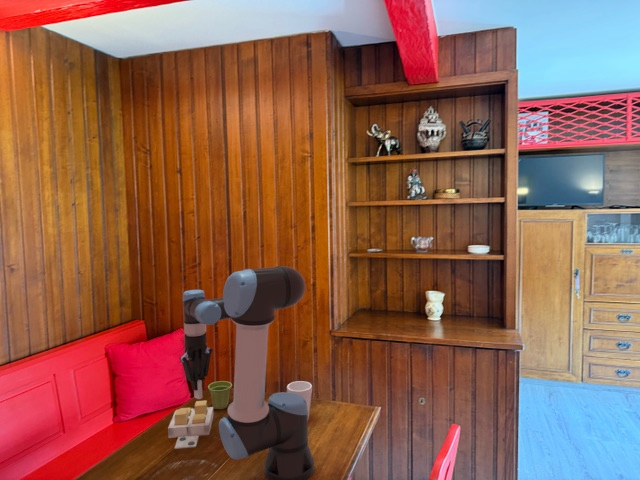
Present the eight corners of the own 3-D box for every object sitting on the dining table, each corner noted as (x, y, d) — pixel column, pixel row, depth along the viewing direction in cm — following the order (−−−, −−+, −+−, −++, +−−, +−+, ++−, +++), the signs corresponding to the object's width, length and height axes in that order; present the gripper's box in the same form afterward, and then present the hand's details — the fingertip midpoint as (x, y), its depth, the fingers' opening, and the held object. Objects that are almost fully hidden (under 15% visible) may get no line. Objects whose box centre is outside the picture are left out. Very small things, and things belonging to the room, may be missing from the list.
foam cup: (309, 426, 159) (309, 392, 158) (285, 424, 161) (284, 390, 160) (314, 414, 169) (313, 381, 168) (291, 412, 170) (290, 380, 169)
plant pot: (225, 398, 183) (225, 379, 182) (236, 406, 176) (236, 386, 175) (204, 405, 177) (204, 385, 176) (215, 414, 170) (214, 392, 169)
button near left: (186, 424, 155) (186, 414, 155) (175, 425, 155) (174, 414, 154) (188, 419, 159) (188, 408, 159) (177, 420, 158) (176, 409, 158)
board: (209, 434, 154) (208, 425, 154) (168, 438, 153) (167, 428, 152) (213, 415, 168) (213, 406, 168) (176, 418, 166) (175, 409, 166)
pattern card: (195, 447, 147) (195, 445, 146) (174, 449, 146) (174, 447, 146) (198, 436, 153) (198, 434, 153) (178, 438, 153) (178, 436, 152)
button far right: (205, 415, 162) (205, 405, 161) (194, 416, 161) (194, 405, 161) (207, 410, 166) (206, 400, 165) (196, 411, 165) (196, 401, 165)
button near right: (204, 429, 156) (203, 419, 156) (192, 430, 156) (192, 419, 155) (205, 424, 160) (205, 413, 160) (194, 425, 159) (193, 414, 159)
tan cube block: (189, 422, 161) (189, 412, 161) (178, 423, 161) (178, 413, 160) (191, 417, 165) (190, 407, 165) (180, 418, 165) (180, 408, 164)
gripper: (203, 327, 162) (206, 389, 164) (173, 336, 152) (176, 401, 154) (216, 330, 158) (219, 393, 159) (186, 339, 148) (189, 407, 149)
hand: (198, 397), depth 156 cm, fingers closed
